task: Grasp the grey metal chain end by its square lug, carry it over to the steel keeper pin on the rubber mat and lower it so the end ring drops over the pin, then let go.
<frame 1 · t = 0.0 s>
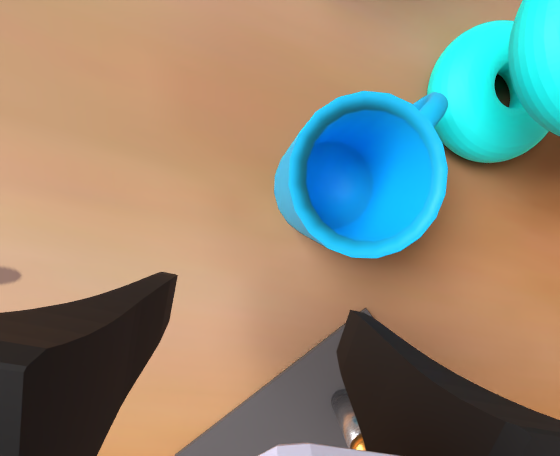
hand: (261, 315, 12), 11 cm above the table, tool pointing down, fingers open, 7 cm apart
donuts: (475, 102, 23), on the table
keeper pin: (342, 400, 23), resting on mat
mug: (343, 170, 22), on the table
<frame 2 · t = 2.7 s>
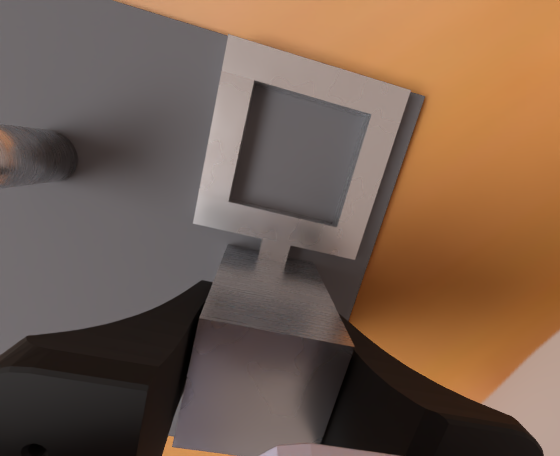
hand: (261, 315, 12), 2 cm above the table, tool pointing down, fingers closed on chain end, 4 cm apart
chain end: (261, 293, 13), resting on mat, touching gripper
keeper pin: (51, 156, 11), resting on mat
mat: (156, 258, 13), on the table
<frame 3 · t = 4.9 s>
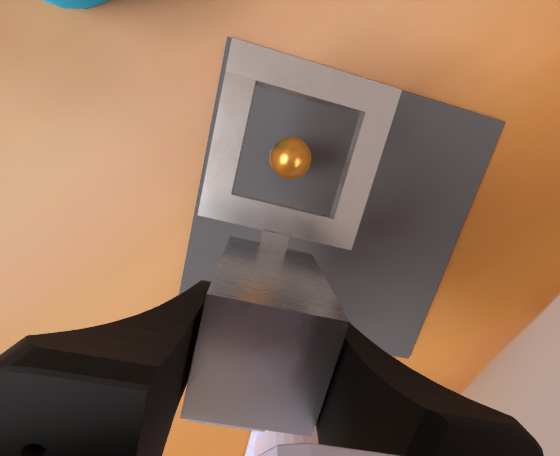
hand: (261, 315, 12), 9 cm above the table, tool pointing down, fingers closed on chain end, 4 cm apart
chain end: (262, 283, 14), point 7 cm above the table, touching gripper
keeper pin: (283, 157, 19), resting on mat
mat: (331, 222, 21), on the table
when the fingers open (3 cm above the table, at t = 7.1 s): chain end stays where it is, resting on mat.
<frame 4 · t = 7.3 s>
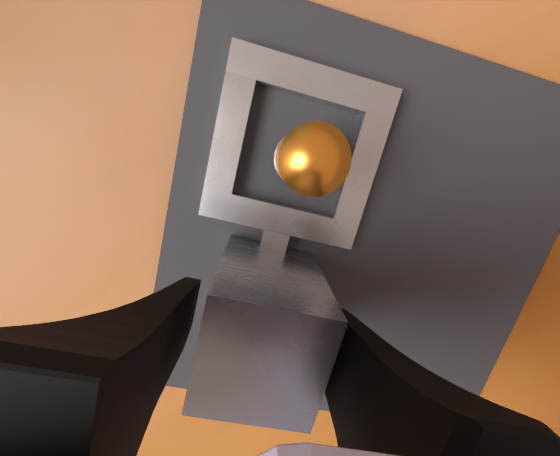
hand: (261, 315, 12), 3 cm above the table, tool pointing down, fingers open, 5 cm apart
chain end: (262, 281, 14), resting on mat
keeper pin: (293, 158, 13), resting on mat
mat: (361, 250, 14), on the table
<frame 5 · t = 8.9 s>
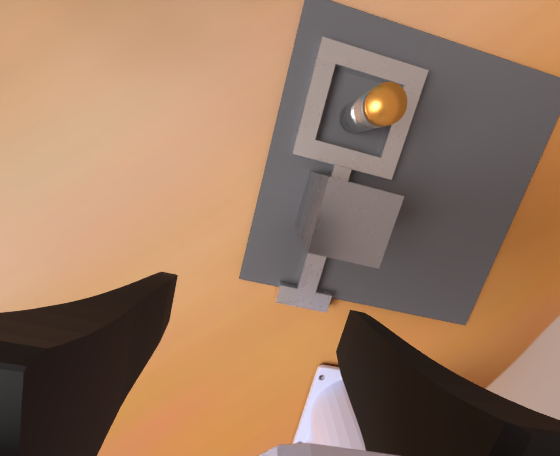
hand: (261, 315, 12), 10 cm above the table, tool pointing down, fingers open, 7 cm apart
chain end: (328, 205, 20), resting on mat
keeper pin: (354, 117, 19), resting on mat
mat: (396, 184, 21), on the table
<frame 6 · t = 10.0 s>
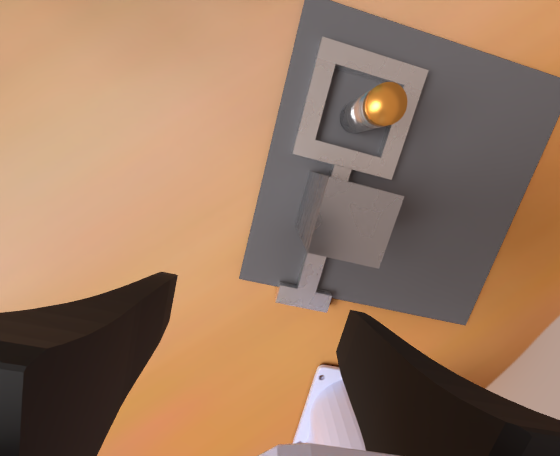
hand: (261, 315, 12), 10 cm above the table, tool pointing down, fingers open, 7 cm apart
chain end: (328, 205, 20), resting on mat
keeper pin: (354, 117, 19), resting on mat
mat: (396, 184, 21), on the table
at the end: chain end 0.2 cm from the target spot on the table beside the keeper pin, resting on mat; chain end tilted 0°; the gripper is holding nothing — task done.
